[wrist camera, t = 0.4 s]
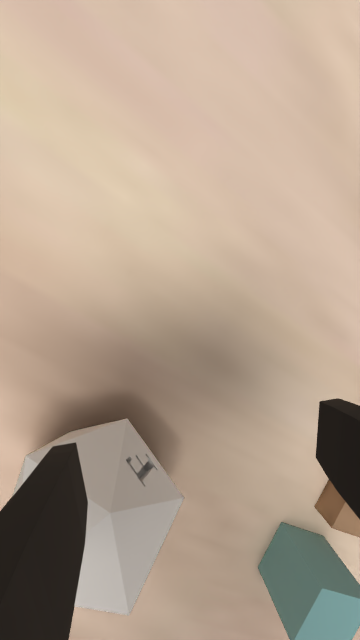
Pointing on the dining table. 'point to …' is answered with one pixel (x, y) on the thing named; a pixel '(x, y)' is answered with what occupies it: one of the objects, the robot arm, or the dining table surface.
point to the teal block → (310, 586)
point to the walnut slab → (337, 511)
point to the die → (117, 512)
